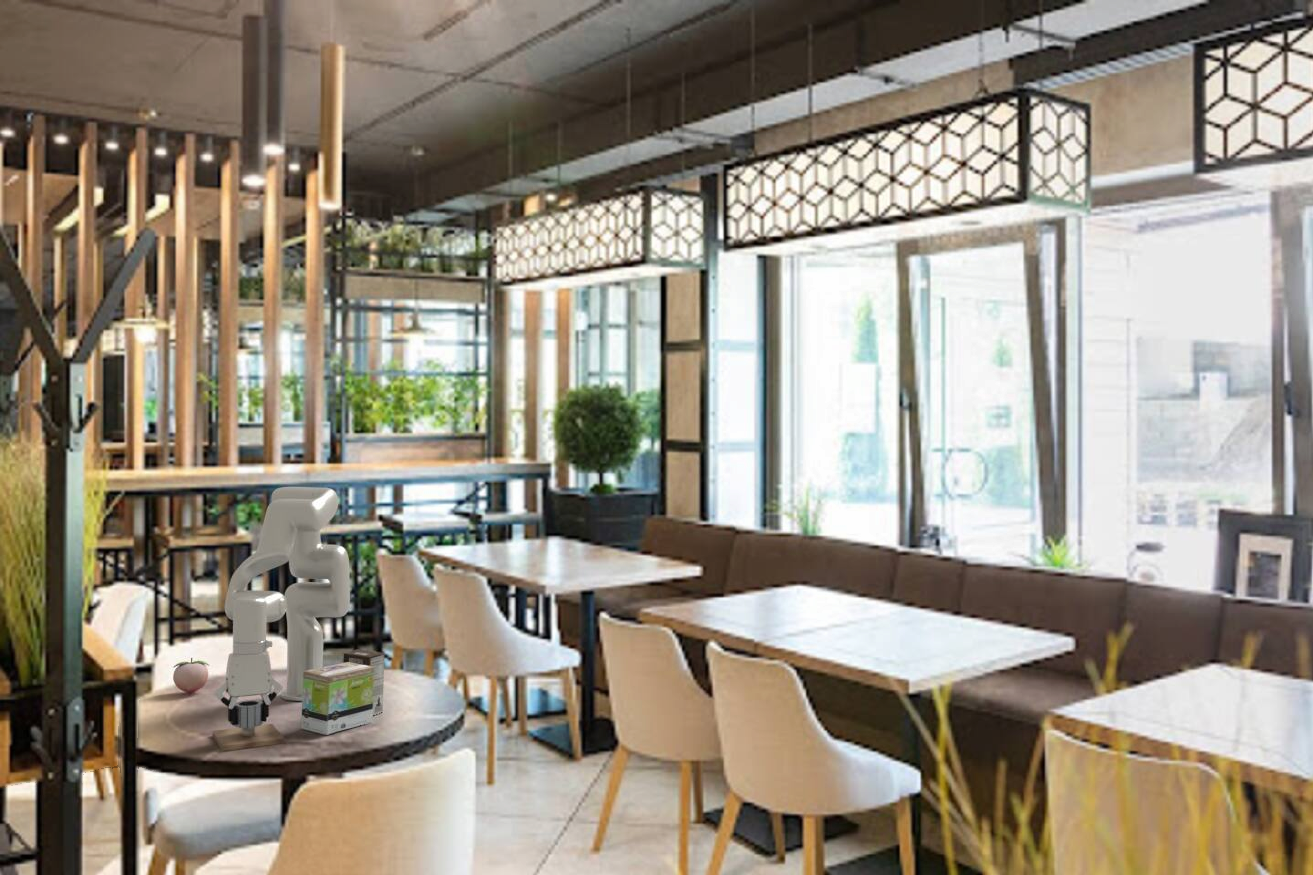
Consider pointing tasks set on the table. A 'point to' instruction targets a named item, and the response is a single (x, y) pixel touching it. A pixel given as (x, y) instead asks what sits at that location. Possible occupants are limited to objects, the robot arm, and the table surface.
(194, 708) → the table surface
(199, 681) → the decorative fruit
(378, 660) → the coffee box
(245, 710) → the grey hollow cylinder
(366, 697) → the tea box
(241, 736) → the shaft base
